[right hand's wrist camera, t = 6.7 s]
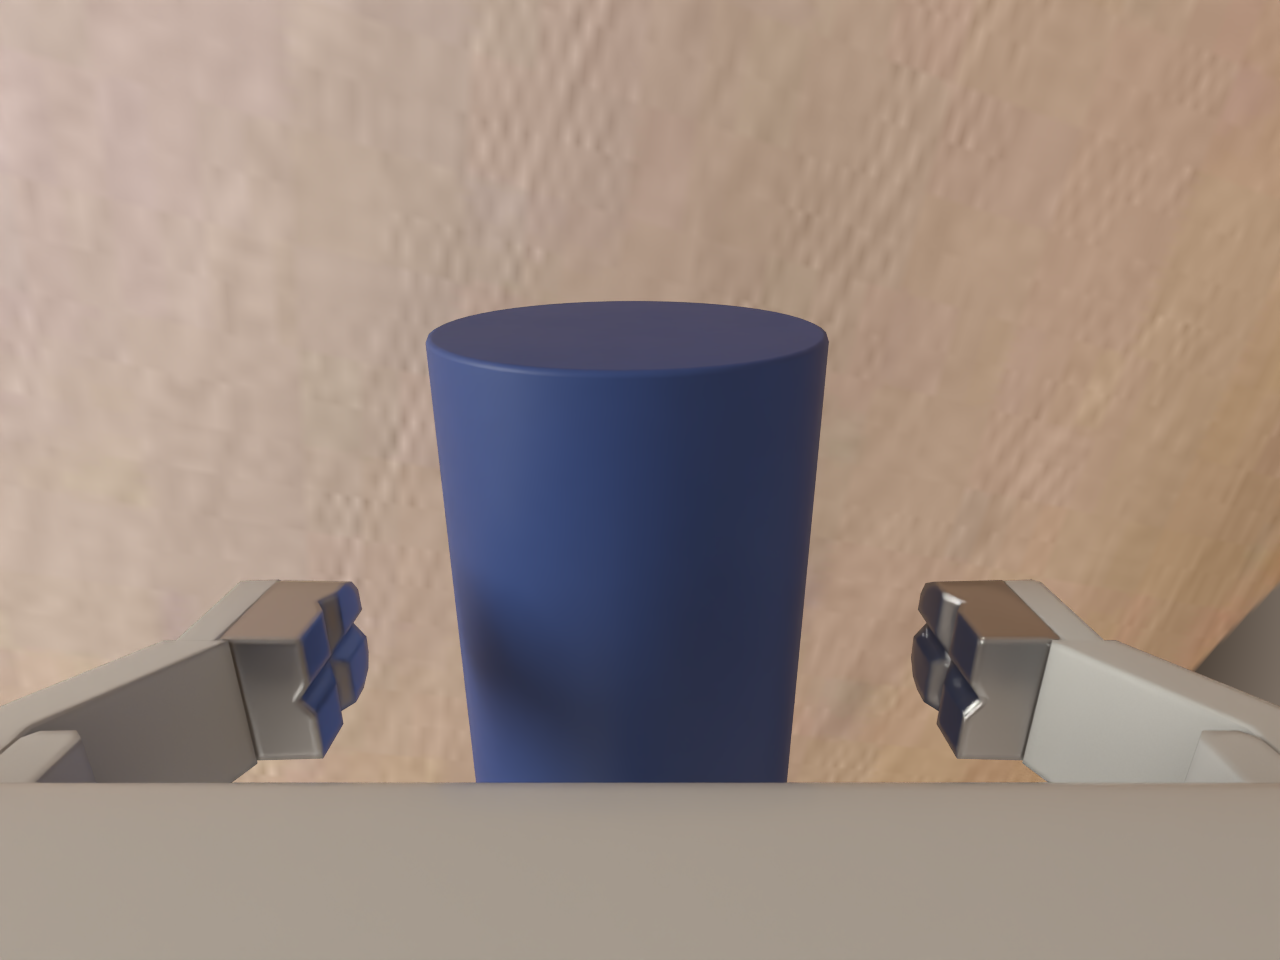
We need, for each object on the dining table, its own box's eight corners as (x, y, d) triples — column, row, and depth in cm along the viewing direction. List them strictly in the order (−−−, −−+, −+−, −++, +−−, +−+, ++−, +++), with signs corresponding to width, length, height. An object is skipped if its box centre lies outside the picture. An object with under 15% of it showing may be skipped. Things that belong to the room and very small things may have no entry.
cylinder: (474, 301, 14) (361, 371, 8) (785, 299, 14) (887, 370, 8) (542, 1078, 23) (511, 1365, 17) (730, 1077, 23) (760, 1363, 17)
